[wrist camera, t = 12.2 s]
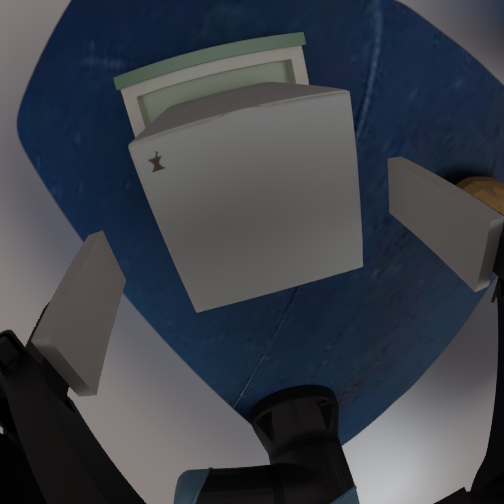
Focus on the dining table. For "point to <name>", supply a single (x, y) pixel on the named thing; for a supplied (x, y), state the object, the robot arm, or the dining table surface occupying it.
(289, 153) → the supplement box
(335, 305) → the dining table surface
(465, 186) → the potato
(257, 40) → the shallow square tray
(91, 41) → the dining table surface
